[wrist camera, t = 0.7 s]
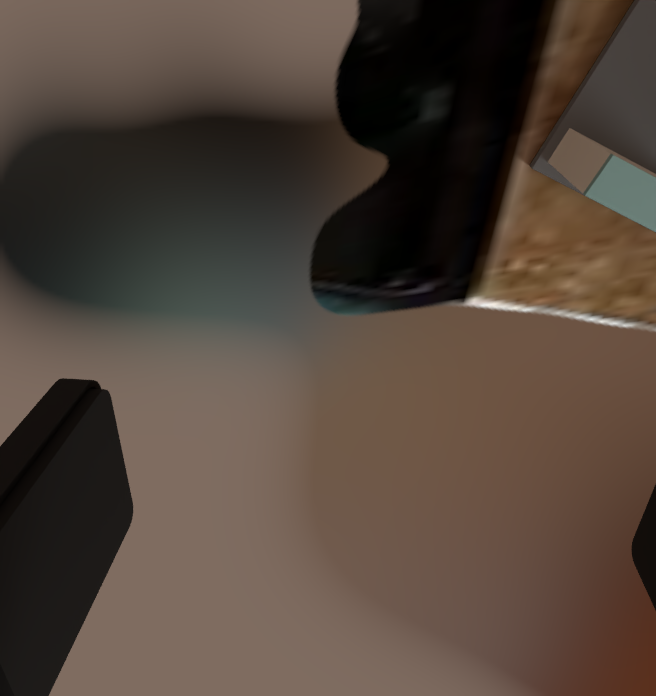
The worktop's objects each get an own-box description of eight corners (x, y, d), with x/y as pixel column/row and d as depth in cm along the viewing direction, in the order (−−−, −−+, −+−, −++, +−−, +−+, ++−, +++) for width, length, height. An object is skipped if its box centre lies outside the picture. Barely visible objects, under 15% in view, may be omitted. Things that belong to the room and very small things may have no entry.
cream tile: (686, 190, 30) (753, 229, 24) (661, 221, 30) (720, 265, 25) (569, 127, 28) (613, 155, 23) (547, 161, 29) (584, 195, 24)
